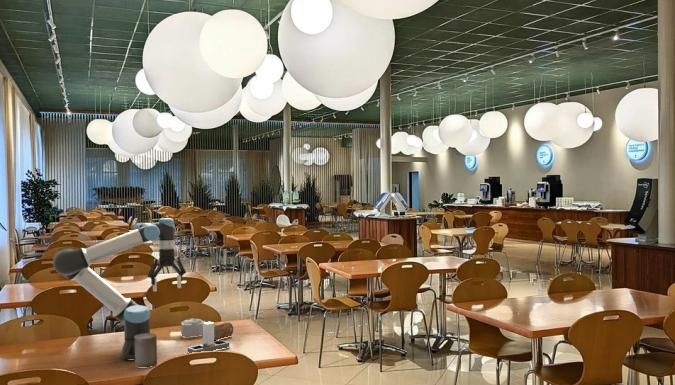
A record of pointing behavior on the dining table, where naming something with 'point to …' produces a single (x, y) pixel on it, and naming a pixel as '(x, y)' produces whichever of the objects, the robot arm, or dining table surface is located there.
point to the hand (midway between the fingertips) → (167, 289)
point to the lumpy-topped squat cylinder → (192, 327)
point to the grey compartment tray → (217, 345)
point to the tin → (222, 330)
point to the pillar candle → (145, 350)
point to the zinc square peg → (208, 334)
